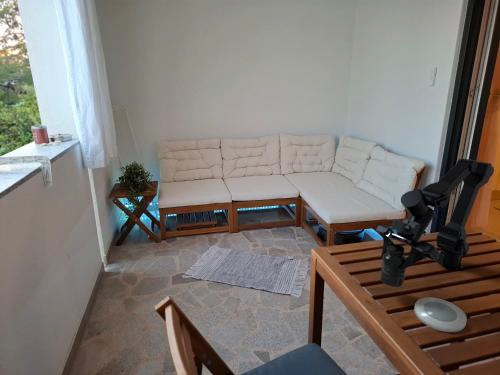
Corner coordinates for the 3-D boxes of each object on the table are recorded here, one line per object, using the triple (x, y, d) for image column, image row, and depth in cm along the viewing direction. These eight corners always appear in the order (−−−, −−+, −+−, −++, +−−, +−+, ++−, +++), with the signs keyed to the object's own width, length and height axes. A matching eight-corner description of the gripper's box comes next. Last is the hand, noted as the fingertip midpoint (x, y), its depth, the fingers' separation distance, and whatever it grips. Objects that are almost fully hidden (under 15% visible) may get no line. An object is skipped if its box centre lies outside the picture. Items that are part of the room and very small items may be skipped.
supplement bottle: (406, 288, 98) (410, 253, 94) (382, 286, 99) (385, 252, 96) (401, 276, 104) (405, 242, 101) (378, 274, 106) (381, 241, 102)
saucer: (445, 299, 100) (446, 295, 100) (477, 329, 88) (478, 324, 87) (405, 303, 99) (406, 298, 99) (431, 334, 87) (432, 329, 86)
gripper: (381, 201, 104) (355, 241, 103) (438, 220, 89) (409, 267, 87) (395, 217, 110) (370, 255, 109) (451, 238, 95) (423, 283, 93)
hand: (391, 264), depth 99 cm, fingers closed on supplement bottle, 7 cm apart
